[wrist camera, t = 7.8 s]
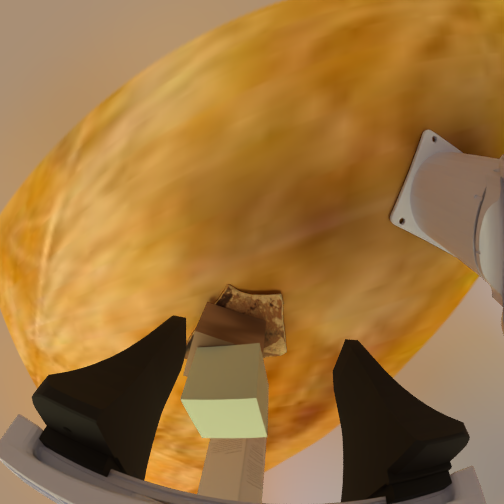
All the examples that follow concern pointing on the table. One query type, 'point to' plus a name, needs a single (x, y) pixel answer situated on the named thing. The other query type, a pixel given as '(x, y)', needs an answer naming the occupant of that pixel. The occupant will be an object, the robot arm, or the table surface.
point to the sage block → (228, 392)
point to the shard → (259, 308)
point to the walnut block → (225, 330)
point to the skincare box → (234, 469)
